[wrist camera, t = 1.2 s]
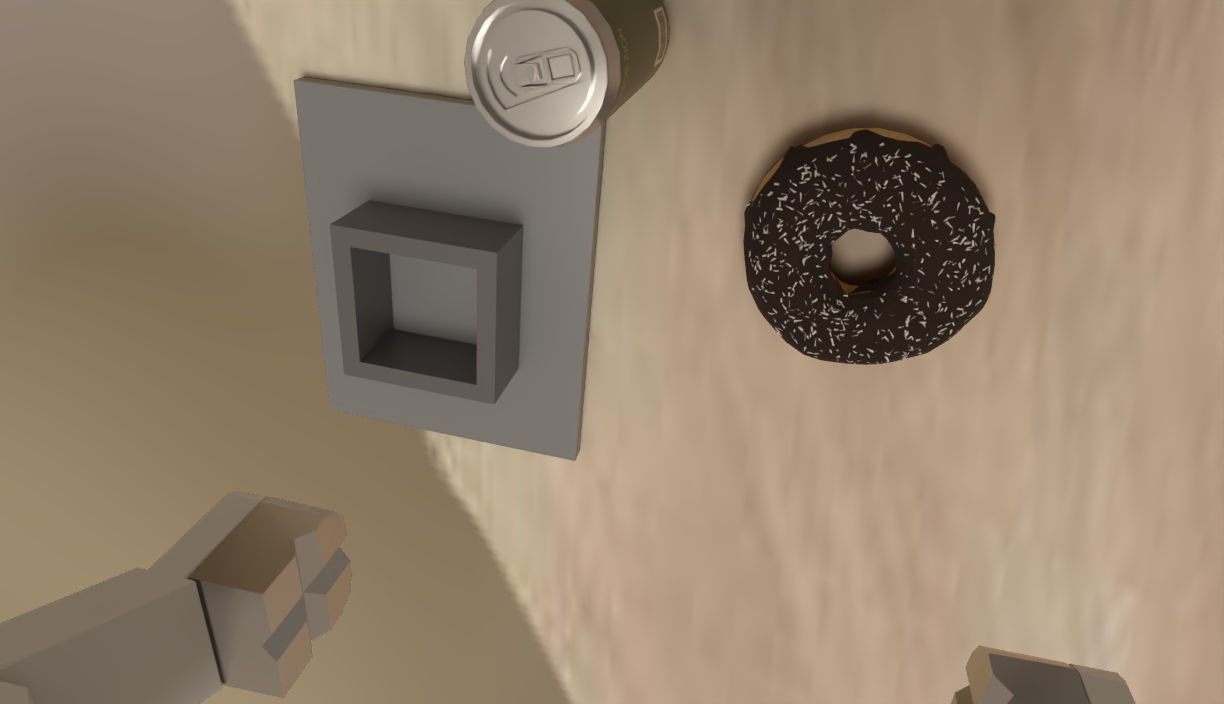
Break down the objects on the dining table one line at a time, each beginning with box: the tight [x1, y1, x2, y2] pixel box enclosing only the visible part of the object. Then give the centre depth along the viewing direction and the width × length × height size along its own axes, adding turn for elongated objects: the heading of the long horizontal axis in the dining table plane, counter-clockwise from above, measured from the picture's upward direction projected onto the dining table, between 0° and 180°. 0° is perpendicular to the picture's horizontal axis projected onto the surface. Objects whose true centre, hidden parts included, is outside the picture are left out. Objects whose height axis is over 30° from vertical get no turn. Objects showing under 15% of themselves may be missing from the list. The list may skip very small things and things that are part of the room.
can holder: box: [294, 77, 606, 461], centre depth 42 cm, size 20×16×5 cm
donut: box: [744, 128, 995, 365], centre depth 37 cm, size 11×12×4 cm
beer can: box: [464, 0, 668, 147], centre depth 31 cm, size 5×5×12 cm
